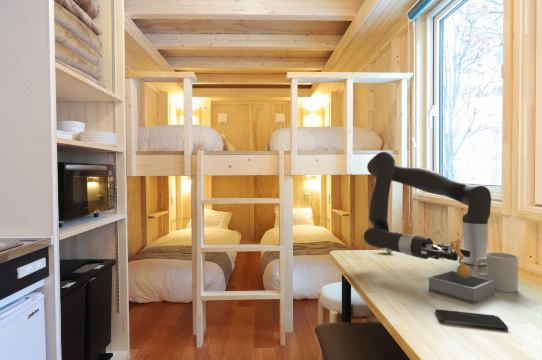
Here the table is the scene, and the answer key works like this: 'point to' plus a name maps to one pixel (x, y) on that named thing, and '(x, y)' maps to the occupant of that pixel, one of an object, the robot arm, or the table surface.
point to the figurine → (462, 269)
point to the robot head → (388, 250)
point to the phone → (470, 320)
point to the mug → (500, 271)
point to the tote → (461, 286)
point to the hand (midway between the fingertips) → (463, 255)
